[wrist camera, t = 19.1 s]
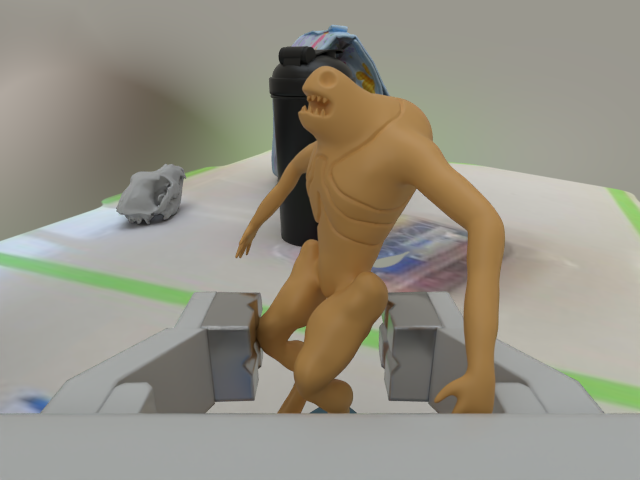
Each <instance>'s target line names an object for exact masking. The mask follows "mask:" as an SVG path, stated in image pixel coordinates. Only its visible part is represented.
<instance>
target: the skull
mask: <svg viewBox="0 0 640 480" xmlns="http://www.w3.org/2000/svg"><path fill="white" fill-rule="evenodd" d="M184 178H185V179H186V176H185V174H184V169H183V168H181V167H179V166H174V165H173V164H170V165H168V166H167V164H165V165H164V166H163V167H161V168H160V169H159V170H157V171H154V172H138V173H136V174H134V175H133V176H132V177H131V181H130V185H129V186H128V187H127V189H126V190H125V191H124V192H123V193H122V195H121V198H120V200H119V203H118V206H117V207H116V209H117V212H118V213H119V214H121V215H125V216H126V218H128V220H129V222H130V223H134V222H136V221H137V224H140V223H141V221H142V219H143V220H145V221H146V223H147V224H150V223H149V221H150V220H151V219H152V218H153V217H154V214H155V215H158V214H162V215H164V217H163V219H164V220H166V219H168V218H169V217H170V216H171V215H174V214H175V213H176V212H177V210H178V207H179V205H180V202H181V196H182V186H183V180H184ZM159 205H160V206H159ZM158 206H159V207H158Z"/></svg>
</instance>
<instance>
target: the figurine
mask: <svg viewBox="0 0 640 480" xmlns="http://www.w3.org/2000/svg"><path fill="white" fill-rule="evenodd" d="M302 90H303V92H304V94H305V95H306V96H307V101H308V102H309V106H308V110H307V108H306V106H303V107H302V109H301V111H299V112H298V115H299V119H300V121H301V124H302V125H303V127H304V128H305V129H306V130H308V131H309V132H310V133H311V134H313V135H314V137H315V138H316V141H315V142H313V143H311V144H309V145H308V146H307V147H305V148H304V149H303V150H302V151H300V152H299V153H298V154H297V155H296V156H295V158H294V159H293V160H292V161H291V162H290V163H289V164H288V166H287V167H286V169H285V171H284V173H283V174H282V176H281V178H280V180H279V182H278V184H277V185H276V186H275V187H274V188H273V189H272V190H271V191H270V193H269V194H268V195H267V196H266V197H265V199H264V200H263V201H262V202H261V204H260V205H259V207H258V209H257V211H256V213H255V215H254V216H253V218H252V220H251V221H250V223H249V225H248V227H247V229H246V230H245V232H244V234H243V236H242V238H241V240H240V242H239V247H238V250H237V253H236V256H235V258H237V257H238V256H239V258H241V257H242V255H243V253H244V251H245V249H246V247H247V250H246V255H248V252H249V250H250V247H251V243H252V240H253V239H254V237H255V235H256V233H257V231H258V229H259V228H260V227H261V225H262V224H263V223H264V222H265V221H266V220H267V219H268V218H269V217H271V216H272V215H273V213H274V212H275V211H276V210H277V209H278V208H279V207H280V205H281V204H282V203H283V202H284V200H285V199H286V197H287V196H288V195H289V194H290V192H291V191H292V190H293V189H294V187H295V186H296V184H297V182H298V180H299V178H300V176H301V175H302V174H303V173H306V188H307V193H308V196H309V198H310V203H311V207H312V212H313V215H314V218H315V221H316V222H317V223H319V224H318V226H317V232H318V241H316V240H313V239H310V240H307V241H306V242H305V243H304V244H303V246H302V248H301V251H300V254H299V256H298V258H297V259H296V261H295V264H294V266H293V269H292V272H291V275H290V277H289V278H288V280H287V281H286V282H285V284H284V285H283V287H282V288H281V290H280V291H279V293H278V295H277V296H276V298H275V300H274V301H273V303H272V304H271V306H270V307H269V309H268V310H267V311H266V313H265V314H264V315H263V316H262V317H261V318H260V321H259V326H258V328H257V330H256V338H257V340H258V341H259V343H260V347H261V349H262V350H263V351H264V352H265V353H266V354H268V355H269V356H271V357H272V358H274V359H276V360H277V361H278V362H280V363H281V364H282V365H283V366H285V367H286V368H287V369H289V370H291V371H293V372H294V380H295V384H294V386H293V388H292V390H291V392H290V393H289V395H288V397H287V398H286V400H285V401H284V403H283V405H282V406H281V408H280V410H279V411H278V413H301V412H302V409H303V407H304V405H305V403H306V401H309V402H312V403H314V404H316V405H317V406H319V407H320V408H321V409H323V410H325V411H326V412H328V413H350V408H349V407H350V406H351V404H352V401H353V391H352V389H351V387H350V385H349V384H347V383H346V382H344V381H341V380H338V379H334V378H335V377H336V376H338V375H339V374H340V373H341V372H342V371H343V370H344V369H345V368H346V366H347V365H348V364H349V363H350V361H351V360H352V359H353V357H354V355H355V354H356V352H357V350H358V349H359V347H360V345H361V343H362V342H363V340H364V339H365V338H366V337H367V336H368V334H369V332H370V330H371V328H372V325H373V324H374V323H375V321H376V320H377V319H378V318H379V317H380V316H381V314H382V313H383V312H384V310H385V308H386V306H387V302H388V290H387V287H386V285H385V283H384V282H383V281H382V279H380V278H379V277H378V276H377V275H376V274H374V273H372V272H371V268H372V266H373V264H374V263H375V261H376V259H377V257H378V254H379V252H380V249H381V247H382V244H383V242H384V240H385V239H386V237H387V236H388V234H389V233H390V231H391V229H392V228H393V226H394V224H395V223H396V221H397V219H398V218H399V216H400V215H401V213H402V212H403V210H404V208H405V207H406V205H407V204H408V202H409V200H410V199H411V197H412V195H413V194H414V192H415V190H416V189H418V190H419V191H420V192H421V193H422V194H423V195H424V196H426V197H427V198H428V199H429V200H430V201H431V202H432V203H434V204H435V205H436V206H437V207H438V208H439V209H440V210H442V211H443V212H444V213H445V214H446V215H447V216H449V217H450V218H451V219H452V220H454V221H455V222H456V223H458V224H459V225H460V226H462V227H463V228H465V229H466V230H467V231H468V247H467V272H468V277H467V287H466V293H465V301H464V337H465V347H466V356H467V364H468V365H467V371H466V373H465V374H464V375H463V376H462V377H460V378H458V379H456V380H454V381H452V382H450V383H449V384H447V385H446V386H445V387H444V388H443V389H442V390H441V391H440V392H439V393H438V394H437V396H436V397H435V399H434V403H439V402H440V401H442V400H443V399H445V398H446V397H448V396H451V395H453V396H455V397H456V398H457V402H456V405H455V407H454V409H453V411H452V413H492V412H493V407H494V397H495V370H494V349H495V342H496V337H497V332H498V312H499V277H500V270H501V264H502V258H503V253H504V245H505V231H504V225H503V222H502V220H501V218H500V216H499V215H498V213H497V212H496V210H495V209H494V207H493V206H492V205H491V204H490V203H489V201H488V200H487V199H486V198H485V197H484V196H483V195H482V194H481V193H480V192H479V191H478V190H477V189H476V188H475V187H474V186H473V185H472V184H471V183H470V182H469V181H468V180H467V179H466V178H464V177H463V176H462V175H461V174H459V173H458V172H457V171H456V170H454V169H453V168H452V167H451V166H450V165H449V164H448V162H447V161H446V159H445V158H444V156H443V154H442V152H441V151H440V149H439V148H438V146H437V145H436V144H435V143H434V142H433V136H432V129H431V125H430V123H429V121H428V119H427V117H426V116H425V114H424V113H423V112H422V111H421V110H420V109H419V108H418V107H417V106H416V105H414V104H413V103H411V102H409V101H407V100H404V99H401V98H395V97H391V96H385V95H381V94H374V93H370V92H368V91H366V90H364V89H362V88H361V87H359V86H358V85H357V84H356V83H354V82H353V81H352V80H351V79H350V78H349V77H347V76H346V75H345V74H343V73H342V72H340V71H339V70H337V69H335V68H333V67H330V66H322V67H319V68H317V69H316V70H315V71H313V72H312V73H311V75H310V76H309V77H308V78H307V80H306V81H305V83H304V85H303V87H302ZM326 298H327V299H326ZM305 326H306V330H305V339H304V342H302V341H298V340H294V341H288V339H289V337H290V336H291V334H292V333H293V332H294V331H295V330H296V329H298V328H302V327H305Z"/></svg>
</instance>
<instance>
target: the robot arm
mask: <svg viewBox="0 0 640 480" xmlns="http://www.w3.org/2000/svg"><path fill="white" fill-rule="evenodd" d="M261 314H262V299H261V294H260V293H245V292H195V293H194V294H193V295H192V297H191V299H190V300H189V302H188V304H187V306H186V307H185V309H184V311H183V313H182V314H181V316H180V318H179V320H178V321H177V323H176V325H175V327H174V328H166V329H164V330H163V331H161V332H159V333H157V334H155V335H153V336H151V337H149V338H147V339H145V340H143V341H142V342H140V343H138V344H136V345H134V346H132V347H130V348H128V349H126V350H124V351H123V352H121V353H119V354H117V355H115V356H113V357H111V358H109V359H107V360H105V361H103V362H102V363H100V364H98V365H96V366H94V367H92V368H90V369H88V370H86V371H84V372H82V373H81V374H79V375H77V376H75V377H73V378H71V379H69V380H67V381H66V382H65V383H64V385H63V386H62V387H61V388H60V389H59V391H58V392H57V393H56V394H55V396H54V397H53V398H52V399H51V400H50V402H49V403H48V404H47V405H46V407H45V408H44V409H43V410H42V411H41V413H5V414H0V480H640V413H604V412H603V411H602V409H601V408H600V407H599V406H598V405H597V403H596V402H595V401H594V400H593V399H592V397H591V396H590V395H589V394H588V392H587V391H586V390H585V389H584V388H583V386H582V385H581V384H580V383H579V382H578V381H577V380H575V379H573V378H571V377H569V376H567V375H565V374H563V373H561V372H559V371H557V370H556V369H554V368H552V367H550V366H548V365H546V364H544V363H542V362H540V361H538V360H536V359H534V358H533V357H531V356H529V355H527V354H525V353H523V352H521V351H519V350H517V349H515V348H513V347H511V346H510V345H508V344H506V343H504V342H502V341H500V340H498V339H496V342H495V349H494V370H495V397H494V407H493V412H492V413H452V411H453V409H454V407H455V405H456V402H457V398H456V397H455V396H453V395H451V396H448V397H446V398H445V399H443V400H442V401H440V402H439V403H434V399H435V397H436V396H437V394H438V393H439V392H440V391H441V390H442V389H443V388H444V387H445V386H446V385H447V384H449V383H450V382H452V381H454V380H456V379H458V378H460V377H462V376H463V375H464V374H465V373H466V371H467V365H468V364H467V356H466V347H465V337H464V318H463V316H462V314H461V313H460V311H459V309H458V308H457V306H456V304H455V303H454V301H453V299H452V297H451V296H450V294H449V293H448V292H446V291H444V292H398V293H388V302H387V306H386V308H385V310H384V312H383V313H382V314H381V315H382V319H383V323H382V324H381V325H380V326H379V354H380V361H381V366H382V367H383V368H384V369H385V376H384V381H385V385H386V390H387V394H388V399H389V401H419V402H428V404H429V405H430V406H431V407H432V408H433V409H435V410H436V411H437V412H438V413H206V412H207V411H208V410H209V409H210V408H211V407H212V406H213V405H214V404H215V402H223V401H254V400H255V395H256V390H257V385H258V380H259V377H258V369H259V368H260V367H261V365H262V359H263V350H262V349H261V347H260V343H259V341H258V340H257V338H256V330H257V328H258V326H259V321H260V318H261Z"/></svg>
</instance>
